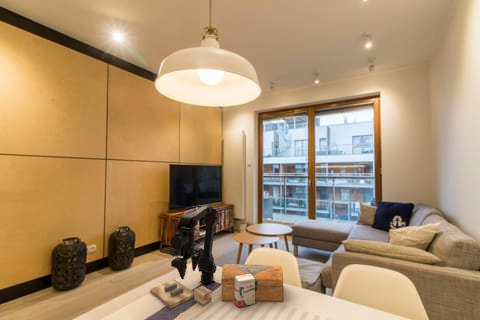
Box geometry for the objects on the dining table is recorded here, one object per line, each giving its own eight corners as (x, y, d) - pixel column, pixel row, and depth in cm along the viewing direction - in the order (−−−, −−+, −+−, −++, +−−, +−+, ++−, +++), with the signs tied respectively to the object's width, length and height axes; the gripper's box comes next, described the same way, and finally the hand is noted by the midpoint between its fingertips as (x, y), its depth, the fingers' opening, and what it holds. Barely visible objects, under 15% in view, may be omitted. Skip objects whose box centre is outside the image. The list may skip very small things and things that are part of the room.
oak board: (174, 282, 129) (174, 279, 129) (195, 296, 115) (196, 293, 115) (150, 291, 119) (150, 288, 119) (170, 308, 105) (170, 305, 105)
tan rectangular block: (202, 296, 116) (202, 285, 116) (211, 301, 111) (211, 291, 111) (194, 300, 112) (194, 289, 112) (203, 306, 107) (203, 295, 107)
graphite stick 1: (175, 286, 121) (175, 282, 121) (177, 288, 120) (177, 284, 120) (164, 291, 117) (164, 286, 117) (166, 292, 116) (166, 288, 116)
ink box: (237, 307, 105) (237, 281, 105) (234, 301, 110) (234, 276, 110) (255, 303, 108) (255, 278, 108) (251, 298, 113) (251, 273, 113)
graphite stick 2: (181, 290, 117) (181, 286, 117) (183, 292, 116) (183, 288, 116) (170, 295, 113) (170, 291, 113) (172, 297, 112) (172, 293, 112)
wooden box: (220, 302, 110) (220, 273, 110) (224, 285, 126) (224, 259, 127) (284, 305, 108) (284, 275, 109) (280, 287, 125) (280, 260, 125)
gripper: (185, 234, 123) (185, 264, 123) (161, 246, 106) (161, 280, 106) (204, 237, 119) (204, 267, 119) (181, 249, 102) (181, 285, 101)
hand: (188, 274), depth 111 cm, fingers open, 9 cm apart
